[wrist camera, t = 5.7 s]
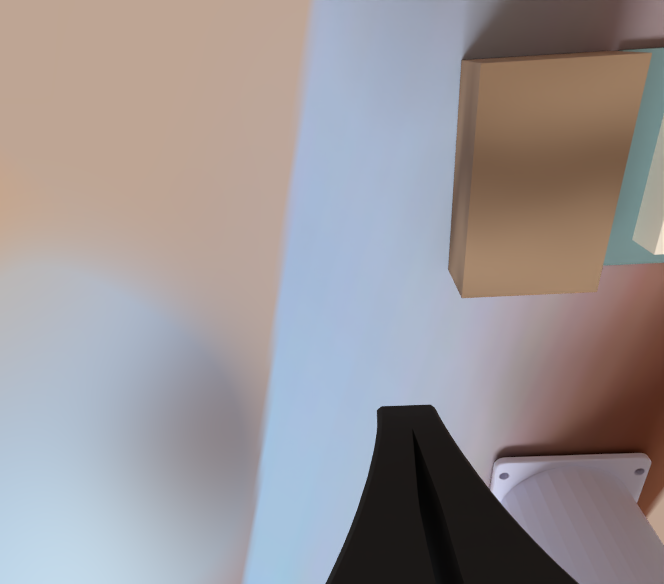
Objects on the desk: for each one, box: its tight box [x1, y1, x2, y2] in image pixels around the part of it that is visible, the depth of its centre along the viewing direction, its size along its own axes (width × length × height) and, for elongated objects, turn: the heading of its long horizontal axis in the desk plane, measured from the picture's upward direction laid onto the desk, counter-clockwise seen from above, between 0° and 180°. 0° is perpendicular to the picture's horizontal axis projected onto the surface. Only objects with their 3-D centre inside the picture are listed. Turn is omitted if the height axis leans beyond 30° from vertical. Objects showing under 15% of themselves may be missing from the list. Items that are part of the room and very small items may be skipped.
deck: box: [448, 51, 652, 298], centre depth 17 cm, size 8×5×2 cm, turn 3°
